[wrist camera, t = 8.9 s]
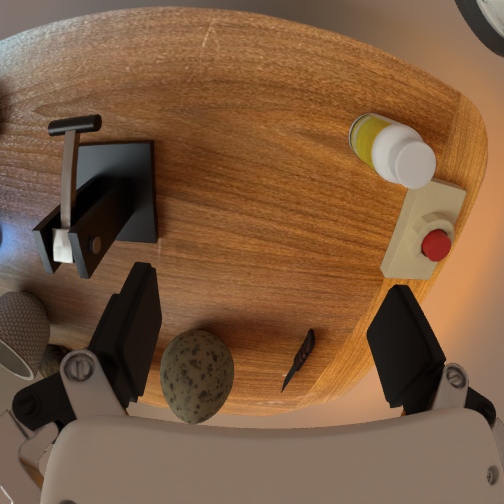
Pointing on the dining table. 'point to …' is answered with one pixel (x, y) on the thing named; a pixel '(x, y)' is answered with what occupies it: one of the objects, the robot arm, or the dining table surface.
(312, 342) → the knife
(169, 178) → the dining table surface
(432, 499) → the robot arm
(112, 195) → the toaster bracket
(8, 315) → the planter
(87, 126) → the lever
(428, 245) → the button
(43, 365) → the seashell
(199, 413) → the decorative egg
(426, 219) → the power block
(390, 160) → the supplement bottle
